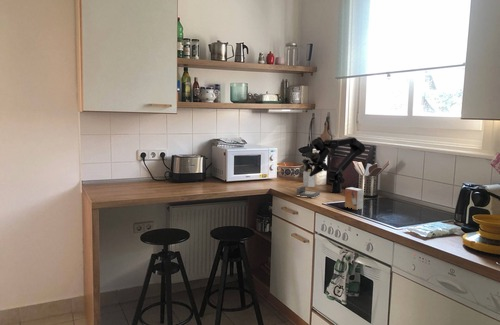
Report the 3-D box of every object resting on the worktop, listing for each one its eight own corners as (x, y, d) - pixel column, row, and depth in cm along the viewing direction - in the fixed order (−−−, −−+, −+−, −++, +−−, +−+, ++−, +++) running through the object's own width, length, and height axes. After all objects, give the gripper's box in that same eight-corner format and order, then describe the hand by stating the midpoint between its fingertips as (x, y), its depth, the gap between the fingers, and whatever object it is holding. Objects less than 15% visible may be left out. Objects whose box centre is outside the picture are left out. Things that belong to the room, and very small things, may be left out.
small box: (344, 207, 223) (344, 188, 222) (350, 205, 227) (351, 186, 225) (356, 210, 217) (357, 190, 216) (363, 208, 221) (363, 189, 219)
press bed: (303, 193, 259) (303, 185, 259) (319, 195, 254) (319, 187, 253) (296, 196, 251) (296, 188, 250) (313, 198, 245) (313, 190, 245)
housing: (309, 184, 255) (309, 168, 253) (315, 186, 250) (315, 169, 249) (303, 185, 252) (303, 169, 251) (308, 187, 248) (308, 170, 246)
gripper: (304, 146, 258) (290, 165, 254) (324, 148, 242) (310, 168, 238) (314, 157, 263) (300, 176, 259) (334, 160, 247) (320, 180, 243)
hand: (307, 175), depth 250 cm, fingers closed on housing, 5 cm apart
